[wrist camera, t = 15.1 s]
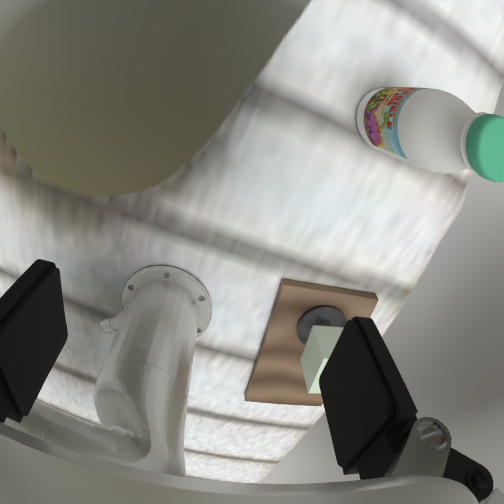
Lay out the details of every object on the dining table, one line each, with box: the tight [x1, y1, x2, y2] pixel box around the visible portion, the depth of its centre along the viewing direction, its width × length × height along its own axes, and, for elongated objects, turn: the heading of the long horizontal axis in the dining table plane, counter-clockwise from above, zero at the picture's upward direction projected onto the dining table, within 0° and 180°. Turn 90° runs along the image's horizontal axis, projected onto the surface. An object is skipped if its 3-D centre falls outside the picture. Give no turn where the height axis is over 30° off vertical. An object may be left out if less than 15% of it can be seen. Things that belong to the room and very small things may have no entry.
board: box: [245, 279, 379, 406], centre depth 43 cm, size 24×14×10 cm, turn 167°
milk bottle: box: [357, 87, 504, 182], centre depth 24 cm, size 8×8×20 cm
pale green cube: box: [300, 325, 344, 394], centre depth 38 cm, size 6×6×6 cm
